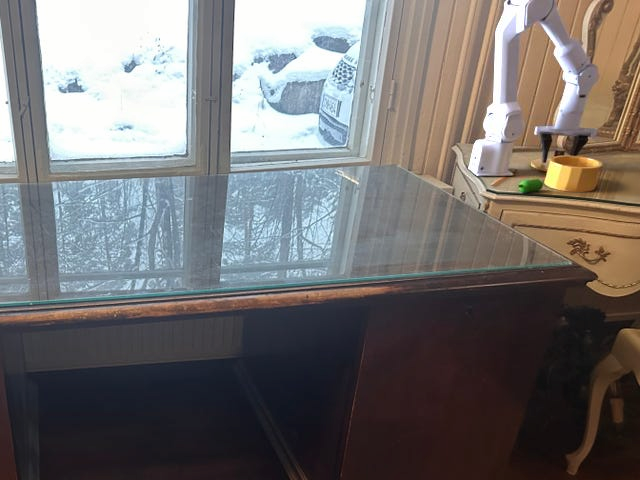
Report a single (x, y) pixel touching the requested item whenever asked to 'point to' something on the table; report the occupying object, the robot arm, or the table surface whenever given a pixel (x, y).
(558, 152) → the pot lid
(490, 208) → the table surface
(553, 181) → the pot
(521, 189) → the chili
